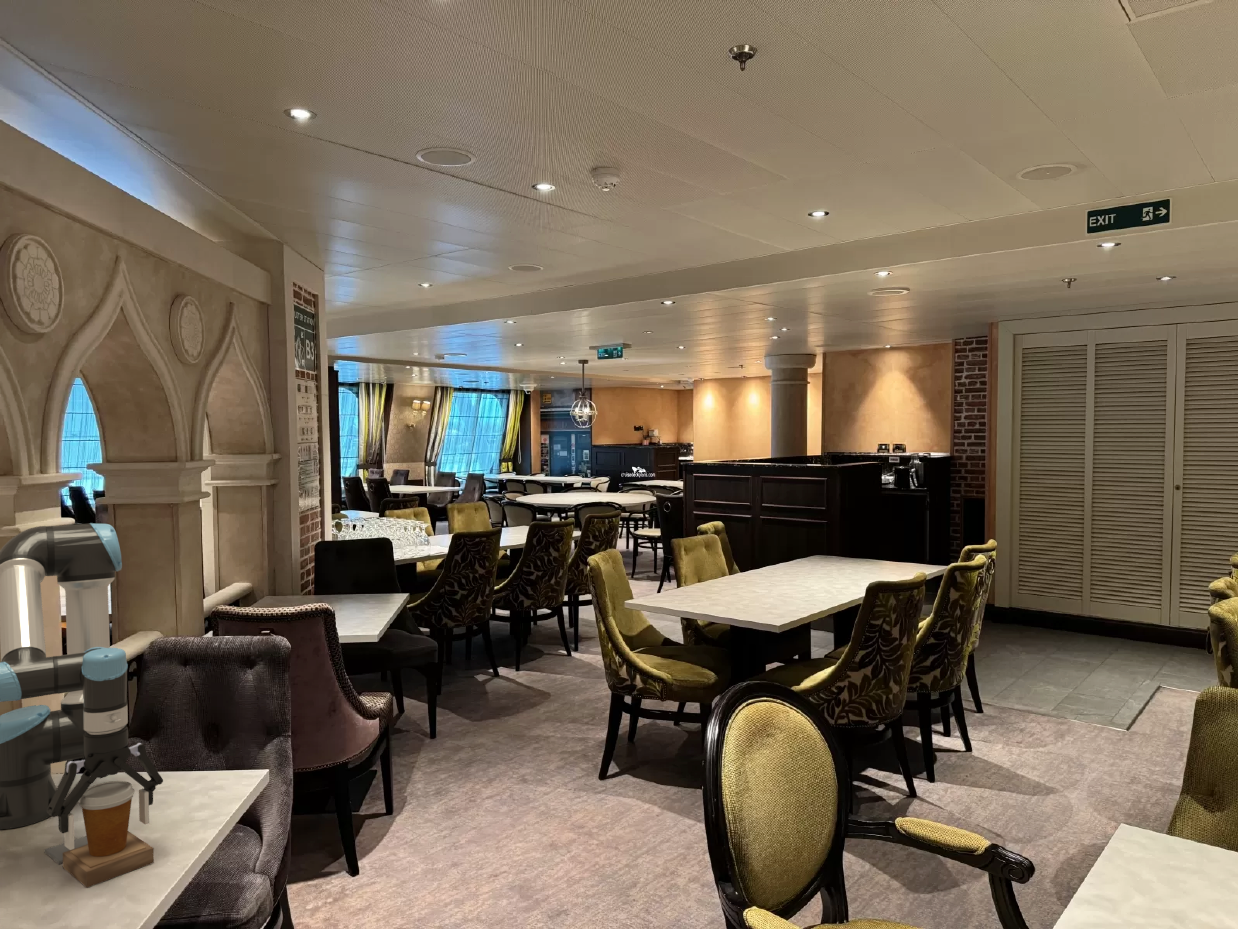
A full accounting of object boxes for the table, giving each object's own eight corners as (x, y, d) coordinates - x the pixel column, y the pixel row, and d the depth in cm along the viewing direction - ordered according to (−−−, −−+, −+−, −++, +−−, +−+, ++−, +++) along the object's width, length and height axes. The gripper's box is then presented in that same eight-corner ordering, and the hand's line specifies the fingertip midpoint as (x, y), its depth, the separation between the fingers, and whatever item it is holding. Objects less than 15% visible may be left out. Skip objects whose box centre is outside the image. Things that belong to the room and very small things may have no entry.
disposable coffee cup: (109, 863, 163) (108, 801, 163) (67, 858, 165) (66, 797, 165) (146, 840, 173) (145, 782, 172) (106, 836, 174) (105, 778, 174)
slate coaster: (44, 852, 174) (44, 849, 174) (87, 838, 180) (87, 835, 180) (59, 864, 169) (59, 861, 169) (103, 849, 175) (103, 846, 175)
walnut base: (62, 867, 168) (62, 851, 168) (128, 845, 177) (127, 829, 177) (87, 887, 161) (86, 870, 160) (153, 862, 170) (153, 846, 170)
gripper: (40, 751, 156) (42, 865, 157) (179, 716, 176) (181, 817, 176) (25, 742, 161) (28, 852, 161) (163, 709, 180) (164, 807, 181)
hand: (108, 834), depth 169 cm, fingers open, 13 cm apart
